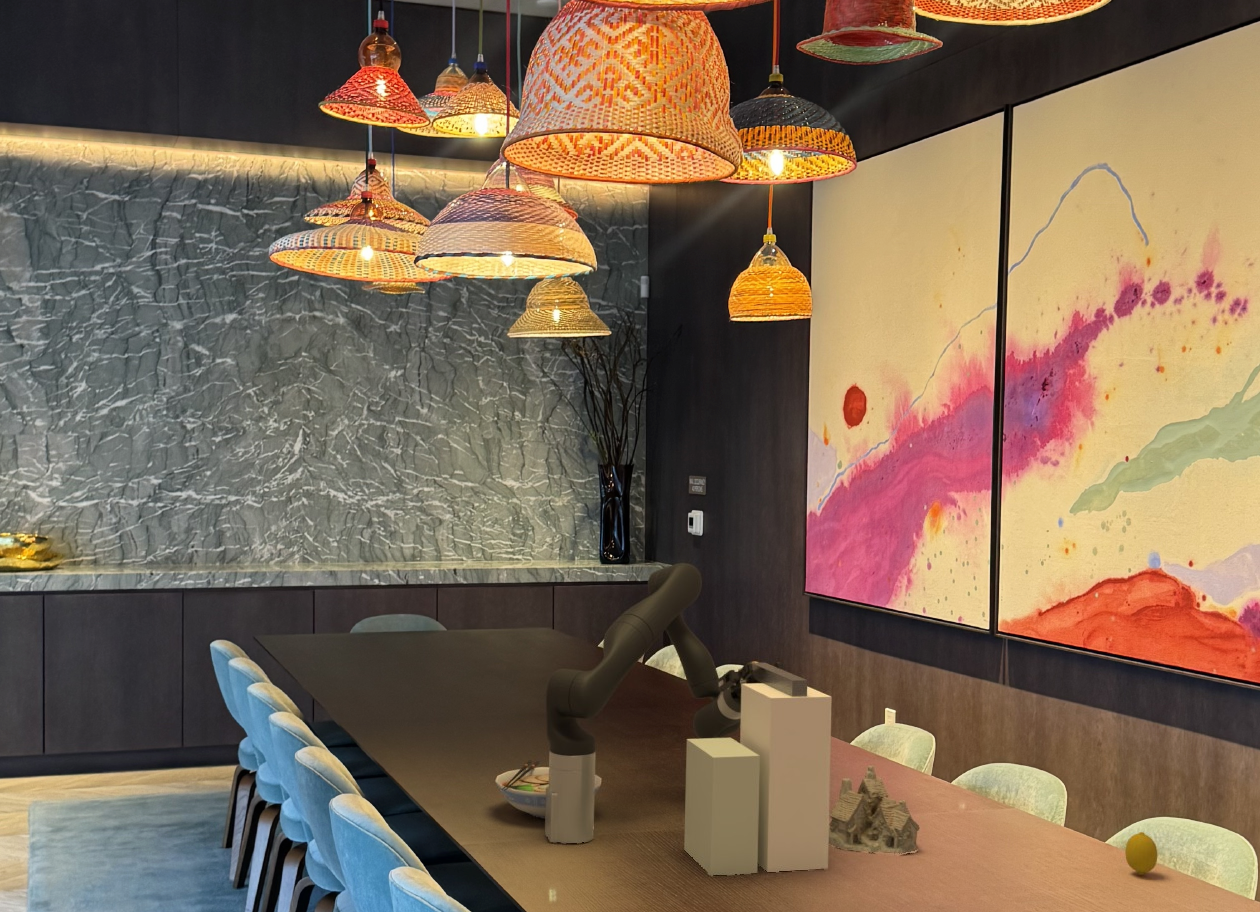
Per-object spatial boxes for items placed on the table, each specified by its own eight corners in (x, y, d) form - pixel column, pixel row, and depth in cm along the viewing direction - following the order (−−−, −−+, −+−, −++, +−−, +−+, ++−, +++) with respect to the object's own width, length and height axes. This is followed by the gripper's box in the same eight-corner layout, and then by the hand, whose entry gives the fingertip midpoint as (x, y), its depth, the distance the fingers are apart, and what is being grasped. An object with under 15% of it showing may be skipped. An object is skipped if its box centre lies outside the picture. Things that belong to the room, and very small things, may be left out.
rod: (792, 696, 230) (792, 680, 230) (747, 676, 253) (747, 661, 254) (807, 696, 231) (807, 680, 231) (760, 675, 254) (761, 661, 254)
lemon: (1148, 870, 235) (1149, 828, 235) (1162, 880, 229) (1163, 836, 229) (1120, 870, 234) (1120, 827, 235) (1132, 879, 229) (1133, 836, 229)
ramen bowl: (586, 834, 249) (587, 793, 249) (477, 825, 254) (478, 785, 254) (612, 803, 274) (613, 766, 274) (513, 795, 278) (514, 759, 279)
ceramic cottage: (814, 837, 251) (821, 763, 251) (883, 833, 257) (890, 762, 257) (855, 865, 237) (862, 787, 236) (927, 860, 243) (934, 784, 242)
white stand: (767, 873, 228) (771, 698, 228) (737, 847, 243) (741, 683, 244) (827, 869, 231) (831, 696, 231) (794, 844, 246) (798, 682, 247)
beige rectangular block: (710, 876, 225) (713, 757, 225) (684, 850, 240) (686, 739, 241) (757, 873, 227) (759, 755, 227) (728, 848, 243) (730, 737, 243)
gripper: (704, 680, 262) (728, 649, 248) (768, 678, 266) (795, 648, 252) (709, 714, 258) (734, 685, 244) (774, 712, 262) (802, 684, 248)
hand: (765, 667), depth 248 cm, fingers open, 5 cm apart
